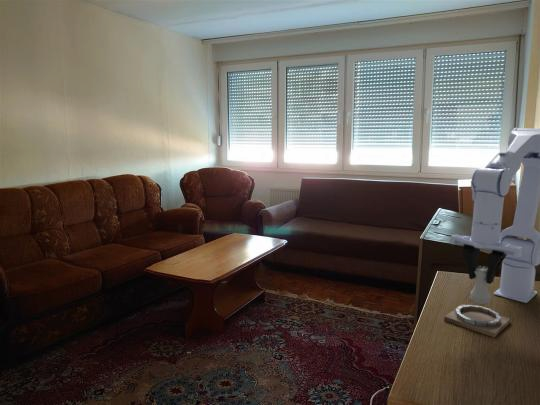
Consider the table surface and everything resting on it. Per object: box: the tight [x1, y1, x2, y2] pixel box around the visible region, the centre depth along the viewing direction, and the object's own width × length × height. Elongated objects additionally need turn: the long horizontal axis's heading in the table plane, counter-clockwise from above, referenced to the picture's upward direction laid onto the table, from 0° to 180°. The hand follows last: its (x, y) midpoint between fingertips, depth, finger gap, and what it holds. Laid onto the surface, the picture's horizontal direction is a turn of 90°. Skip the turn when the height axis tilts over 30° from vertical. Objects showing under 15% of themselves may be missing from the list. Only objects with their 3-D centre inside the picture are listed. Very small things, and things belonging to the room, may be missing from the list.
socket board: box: [443, 303, 512, 338], centre depth 98 cm, size 10×11×2 cm
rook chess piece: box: [469, 265, 492, 305], centre depth 97 cm, size 4×4×8 cm
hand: (481, 280), depth 96 cm, fingers closed on rook chess piece, 3 cm apart
